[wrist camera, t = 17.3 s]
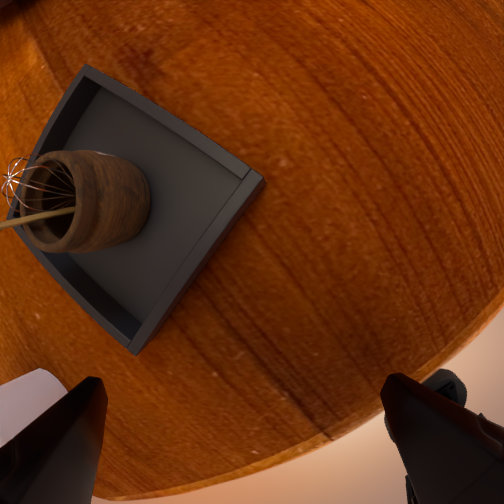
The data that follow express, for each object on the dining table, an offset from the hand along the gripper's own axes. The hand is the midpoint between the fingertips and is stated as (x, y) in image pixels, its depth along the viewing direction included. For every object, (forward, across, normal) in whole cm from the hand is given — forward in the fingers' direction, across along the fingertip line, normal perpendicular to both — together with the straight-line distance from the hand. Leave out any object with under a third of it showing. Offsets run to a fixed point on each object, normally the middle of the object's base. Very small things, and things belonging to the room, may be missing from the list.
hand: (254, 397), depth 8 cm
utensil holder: (+14, +8, -3) cm, 16 cm away
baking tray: (+14, +8, -3) cm, 17 cm away
